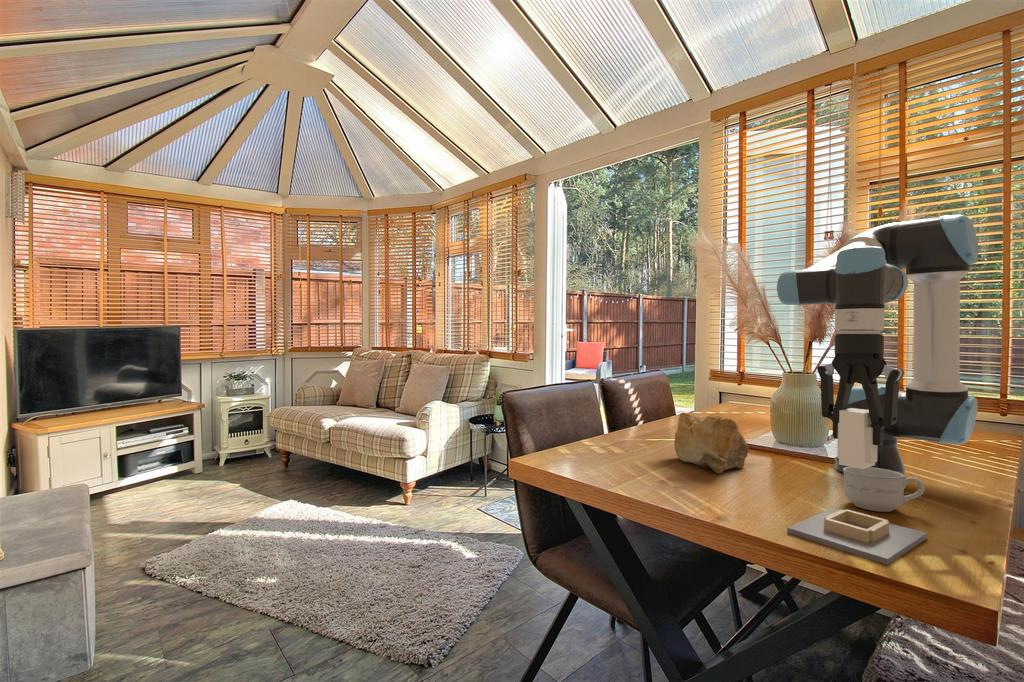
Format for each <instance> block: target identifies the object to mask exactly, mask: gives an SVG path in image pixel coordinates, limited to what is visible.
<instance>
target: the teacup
mask: <svg viewBox="0 0 1024 682" xmlns="http://www.w3.org/2000/svg"><path fill="white" fill-rule="evenodd" d="M843 471H844V473H843V489H844V490H843V491H844V495H845V497H846V498H847V499H848V501H850V502H851V503H852V504H853V505H854V506H855V507H857V508H859V509H862V510H863V509H864V510H866V511H873V512H880V513H886V512H887V513H889V512H892V511H894V510H895V509H897V508H899V507H900V506H901V505H905V504H907V503H908V501H912V500H915V499H917V498H919V497H920V496H922V495H923V494H924V492H925V484H924V483H923V481H922V480H921V479H919V478H918V477H915V476H907V477H905V478H904V475H903V474H901V473H899V472H895V471H891V470H886V469H880V468H873V467H868V468H865V469H860V468H855V467H845V468H843ZM909 483H916V484H917V486H918V490H916V491H915V492H914V493H913V492H912V493H911V494H907V495H904V493H905V491H904V490H905V489H906V488H907V486H908V484H909Z"/></svg>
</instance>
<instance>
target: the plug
mask: <svg viewBox="0 0 1024 682" xmlns="http://www.w3.org/2000/svg"><path fill="white" fill-rule="evenodd" d="M870 425H871V419H870V415H869V410H865V409H856V408H849V409H844V410H839V465H845V466H850V467H855V468H860V469H865V468H868V467H871V466H873V465H875V463H872V464H869V463H866V445H867V427H869V426H870Z"/></svg>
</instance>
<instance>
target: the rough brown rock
mask: <svg viewBox="0 0 1024 682" xmlns="http://www.w3.org/2000/svg"><path fill="white" fill-rule="evenodd" d="M674 433H675V436H674V451H675V455H676V457H677V458H678V459H679V460H680V461H682V462H683V463H691V464H694V465H697V466H706V467H709V468H710V469H712V471H713V472H714V473H716V474H717V475H718V474H722V473H723V472H724V471H726V470H730V469H733V468H734V469H743V468H744V466H745V461H746V459H747V457H748V454H749V450H750V447H749V445H748V443H747V442H746V440H745V438H744V436H743V435H742V434H741V433H740V432H739V424H738V422H737V421H735V420H734V419H732V418H728V417H725V418H721V417H719V416H714V415H713V416H712V415H710V416H708V415H707V416H706V417H704V418H703V420H701V418H700V417H698V416H697V415H695V414H693V413H690V412H681V413H679V416H678V423H677V430H676V431H675V432H674Z"/></svg>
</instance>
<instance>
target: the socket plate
mask: <svg viewBox="0 0 1024 682" xmlns="http://www.w3.org/2000/svg"><path fill="white" fill-rule="evenodd" d="M786 528H787V532H786V533H787V534H790V535H794V536H797V537H799V538H802V539H806V540H809V541H811V542H814V543H817V544H821V545H824V546H826V547H827V546H828V547H830V548H834V549H836V550H837V549H838V550H840V551H843V552H845V553H850V554H852V555H856V556H859V557H861V558H864V559H868V560H871V561H874V562H876V563H880V564H884V565H886V566H888V565H890V563H893V562H894V561H895V560H897V559H898V558H900V557H901V556H903V555H905V554H906V553H909V551H911V550H912V549H914V548H915V547H917V546H919V545H920V544H921V543H923V542H924V541H926V540H927V539H928V533H927V532H924V531H920V530H917V529H912V528H909V527H905V526H901V525H898V524H894V523H890V521H889V520H888V519H885V518H882V517H878V516H874V515H869V514H866V513H862V512H858V511H855V510H850V509H838V508H832V507H831V508H829V509H827V510H824V511H823V512H820V513H817V514H815V515H813V516H811V517H808V518H807V519H806V518H805V519H804V520H801V521H798V522H797V523H795V524H793V525H790V526H788V527H786Z"/></svg>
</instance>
